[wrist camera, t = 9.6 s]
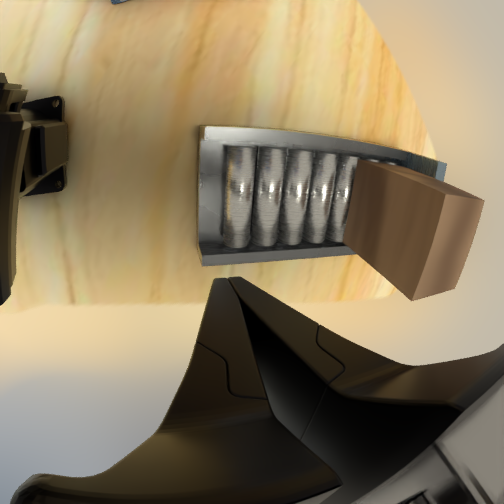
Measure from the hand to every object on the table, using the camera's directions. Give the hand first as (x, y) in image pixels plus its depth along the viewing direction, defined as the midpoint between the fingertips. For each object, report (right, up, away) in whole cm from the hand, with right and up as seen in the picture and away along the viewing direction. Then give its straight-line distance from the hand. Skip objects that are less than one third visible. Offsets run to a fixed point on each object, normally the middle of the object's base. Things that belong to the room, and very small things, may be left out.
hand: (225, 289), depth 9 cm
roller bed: (+5, +6, +13) cm, 15 cm away
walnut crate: (+10, +5, +12) cm, 16 cm away
